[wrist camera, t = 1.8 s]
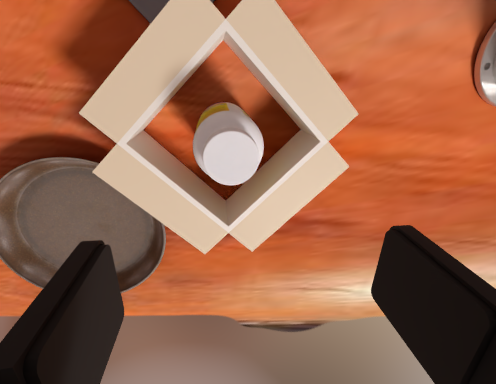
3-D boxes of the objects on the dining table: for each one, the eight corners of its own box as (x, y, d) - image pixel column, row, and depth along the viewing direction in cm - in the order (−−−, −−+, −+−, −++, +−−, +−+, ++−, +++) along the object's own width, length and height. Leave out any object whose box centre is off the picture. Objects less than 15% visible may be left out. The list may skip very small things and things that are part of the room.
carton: (348, 129, 35) (378, 141, 29) (226, 240, 40) (229, 271, 34) (221, -34, 27) (224, -68, 21) (85, 130, 32) (53, 144, 25)
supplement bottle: (190, 144, 34) (178, 182, 22) (207, 92, 32) (204, 103, 20) (239, 162, 35) (252, 205, 24) (259, 114, 33) (284, 135, 21)
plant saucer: (199, 225, 39) (198, 238, 36) (104, 304, 42) (95, 322, 39) (73, 113, 31) (57, 118, 28) (-31, 222, 35) (-54, 236, 32)
